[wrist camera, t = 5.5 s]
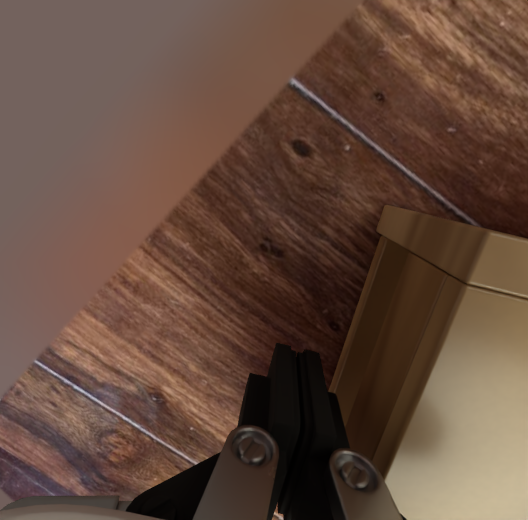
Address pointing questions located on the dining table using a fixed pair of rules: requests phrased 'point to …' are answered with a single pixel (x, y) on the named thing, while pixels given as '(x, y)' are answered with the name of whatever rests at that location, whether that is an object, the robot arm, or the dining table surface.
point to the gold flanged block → (441, 368)
